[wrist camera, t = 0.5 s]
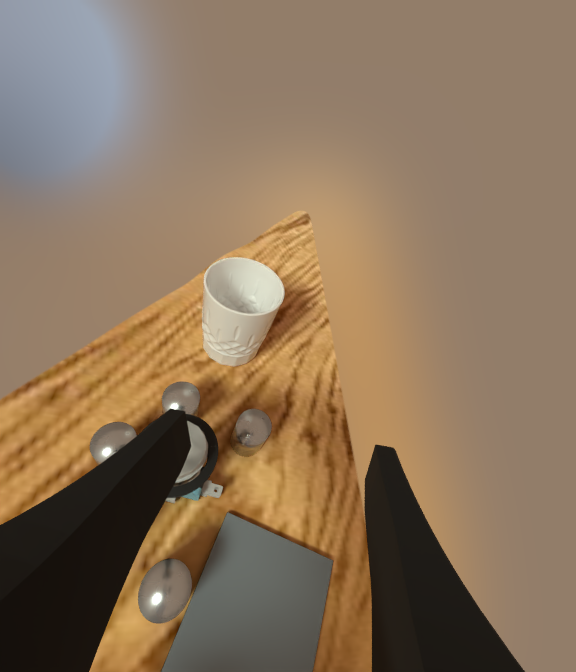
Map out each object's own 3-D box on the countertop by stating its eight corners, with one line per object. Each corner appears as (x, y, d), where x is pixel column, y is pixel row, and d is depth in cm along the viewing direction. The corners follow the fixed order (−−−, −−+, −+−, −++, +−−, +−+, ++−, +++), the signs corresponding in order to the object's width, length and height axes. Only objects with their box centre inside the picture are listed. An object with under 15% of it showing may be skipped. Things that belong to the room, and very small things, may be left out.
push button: (228, 465, 29) (248, 426, 22) (209, 530, 26) (224, 510, 18) (159, 445, 28) (154, 397, 21) (129, 509, 25) (111, 479, 17)
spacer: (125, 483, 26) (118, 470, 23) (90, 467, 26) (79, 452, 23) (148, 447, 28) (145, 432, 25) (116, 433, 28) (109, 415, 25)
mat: (297, 738, 20) (299, 740, 20) (159, 675, 20) (159, 677, 20) (331, 560, 27) (333, 560, 27) (226, 513, 27) (227, 512, 26)
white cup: (230, 384, 34) (247, 329, 27) (182, 339, 36) (185, 275, 28) (275, 346, 39) (299, 291, 32) (231, 308, 41) (244, 247, 33)
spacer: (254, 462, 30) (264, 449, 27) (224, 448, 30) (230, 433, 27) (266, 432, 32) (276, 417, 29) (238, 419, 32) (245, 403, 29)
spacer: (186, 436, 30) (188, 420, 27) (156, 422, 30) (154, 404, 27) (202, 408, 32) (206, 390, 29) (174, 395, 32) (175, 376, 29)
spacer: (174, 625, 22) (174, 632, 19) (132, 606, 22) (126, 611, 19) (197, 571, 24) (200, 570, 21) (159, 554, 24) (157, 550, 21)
